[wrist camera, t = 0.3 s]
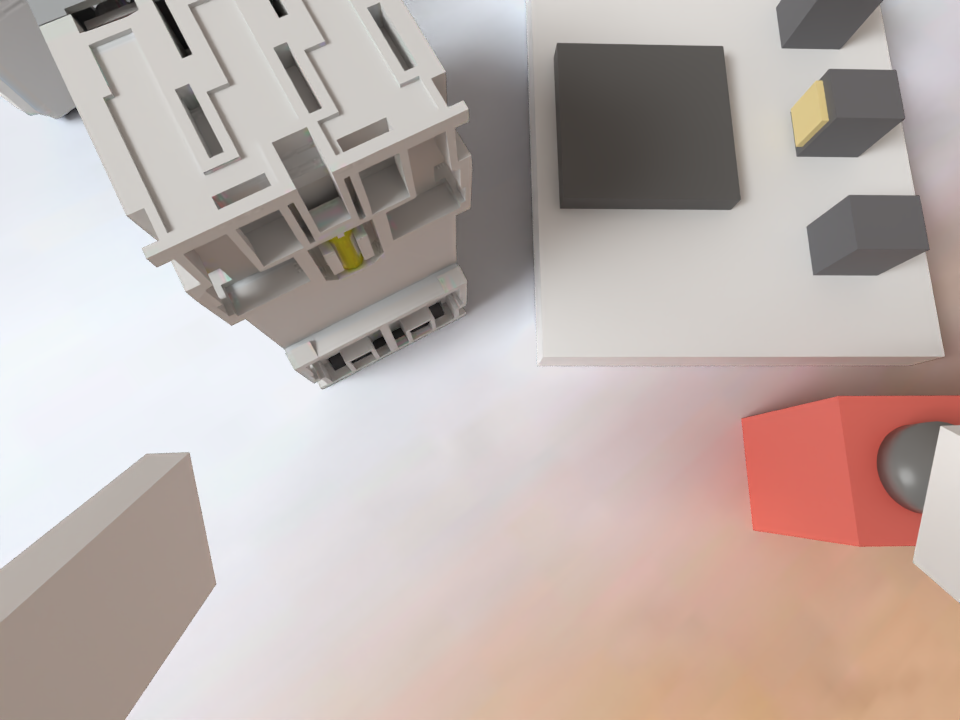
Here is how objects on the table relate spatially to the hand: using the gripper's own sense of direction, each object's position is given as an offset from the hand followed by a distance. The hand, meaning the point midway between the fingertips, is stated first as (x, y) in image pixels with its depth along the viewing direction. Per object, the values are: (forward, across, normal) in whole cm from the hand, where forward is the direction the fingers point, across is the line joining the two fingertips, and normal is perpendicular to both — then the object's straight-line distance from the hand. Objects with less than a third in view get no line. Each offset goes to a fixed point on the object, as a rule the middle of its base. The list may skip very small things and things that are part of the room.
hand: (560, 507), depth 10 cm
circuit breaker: (+20, +9, -4) cm, 22 cm away
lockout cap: (+15, -13, +8) cm, 21 cm away
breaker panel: (+22, -10, -7) cm, 25 cm away
